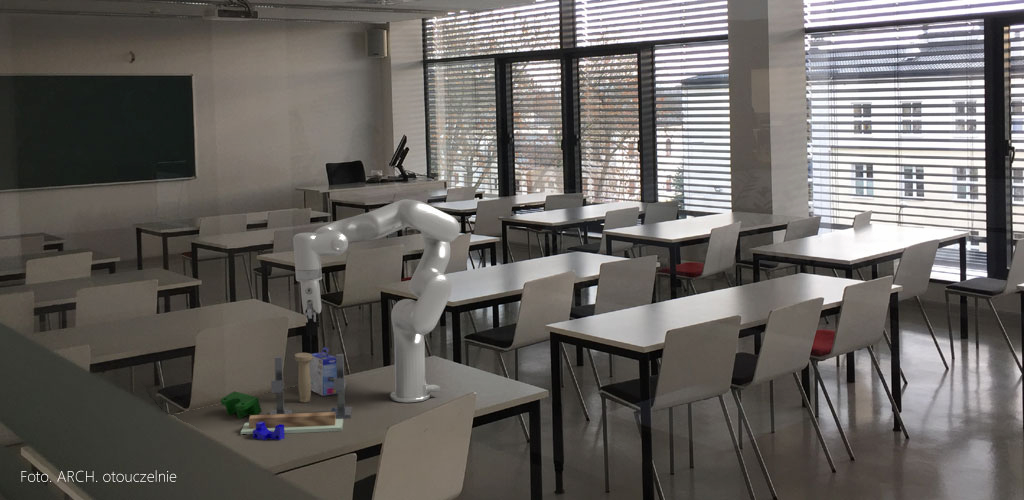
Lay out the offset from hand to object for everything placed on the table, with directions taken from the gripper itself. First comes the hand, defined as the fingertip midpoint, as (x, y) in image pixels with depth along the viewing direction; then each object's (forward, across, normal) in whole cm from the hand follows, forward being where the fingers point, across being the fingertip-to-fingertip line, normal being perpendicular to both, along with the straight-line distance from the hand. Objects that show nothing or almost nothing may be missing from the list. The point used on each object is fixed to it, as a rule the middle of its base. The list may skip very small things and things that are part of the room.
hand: (313, 331), depth 281 cm
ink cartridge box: (+26, +24, 0) cm, 35 cm away
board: (+25, -13, +7) cm, 29 cm away
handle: (+26, +14, +5) cm, 30 cm away
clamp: (+25, +3, +23) cm, 34 cm away
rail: (+24, -13, +7) cm, 28 cm away
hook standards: (+26, -2, +2) cm, 26 cm away
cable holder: (+25, -20, +13) cm, 35 cm away
